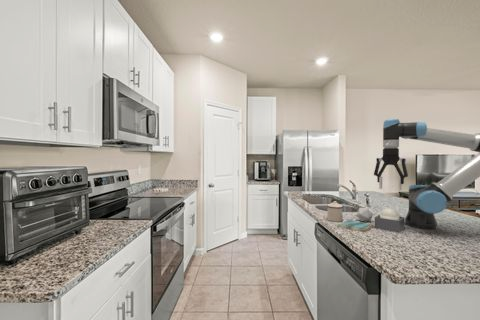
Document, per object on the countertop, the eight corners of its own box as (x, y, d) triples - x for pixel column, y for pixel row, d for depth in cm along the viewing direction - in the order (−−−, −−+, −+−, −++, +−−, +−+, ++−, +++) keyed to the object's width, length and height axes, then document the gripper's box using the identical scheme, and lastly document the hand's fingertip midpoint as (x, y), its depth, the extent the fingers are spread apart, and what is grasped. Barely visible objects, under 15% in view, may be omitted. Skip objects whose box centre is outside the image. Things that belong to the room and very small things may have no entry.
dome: (401, 223, 139) (401, 208, 139) (396, 226, 132) (397, 210, 132) (382, 220, 145) (383, 205, 145) (377, 223, 139) (377, 207, 139)
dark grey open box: (404, 228, 139) (404, 217, 139) (398, 232, 131) (399, 221, 131) (381, 224, 147) (381, 213, 147) (374, 228, 139) (374, 217, 139)
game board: (373, 226, 141) (373, 224, 141) (364, 232, 131) (364, 229, 131) (347, 222, 151) (347, 219, 151) (337, 226, 141) (337, 224, 141)
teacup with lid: (345, 221, 152) (346, 202, 151) (331, 222, 150) (332, 202, 150) (335, 216, 163) (335, 199, 163) (321, 217, 162) (322, 199, 162)
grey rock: (371, 224, 148) (377, 210, 150) (357, 216, 149) (364, 203, 152) (364, 226, 155) (370, 212, 158) (351, 218, 157) (357, 205, 160)
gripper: (367, 148, 143) (366, 188, 143) (412, 147, 128) (411, 192, 128) (371, 148, 148) (371, 186, 149) (415, 147, 133) (415, 190, 134)
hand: (390, 189), depth 138 cm, fingers open, 9 cm apart
